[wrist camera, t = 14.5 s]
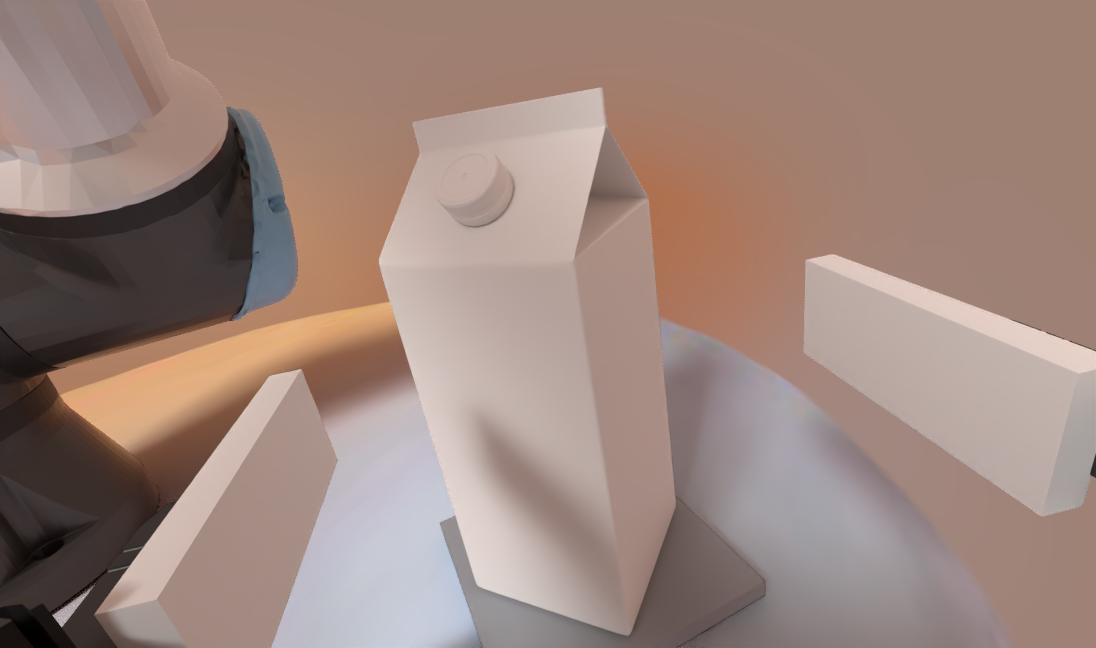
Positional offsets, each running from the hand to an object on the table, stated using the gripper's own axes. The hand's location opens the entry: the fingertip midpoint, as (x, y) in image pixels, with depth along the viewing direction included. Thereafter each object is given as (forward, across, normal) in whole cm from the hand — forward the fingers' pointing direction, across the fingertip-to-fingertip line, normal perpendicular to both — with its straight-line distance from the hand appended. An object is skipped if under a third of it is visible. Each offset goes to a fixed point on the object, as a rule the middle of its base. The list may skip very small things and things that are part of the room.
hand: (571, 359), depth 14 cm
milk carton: (+6, 0, -13) cm, 14 cm away
